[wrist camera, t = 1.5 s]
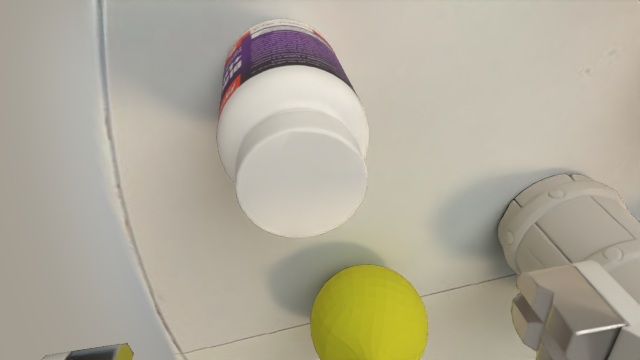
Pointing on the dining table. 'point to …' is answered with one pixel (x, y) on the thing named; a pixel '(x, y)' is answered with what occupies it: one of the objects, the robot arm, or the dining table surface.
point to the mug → (572, 229)
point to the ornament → (368, 316)
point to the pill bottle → (291, 131)
